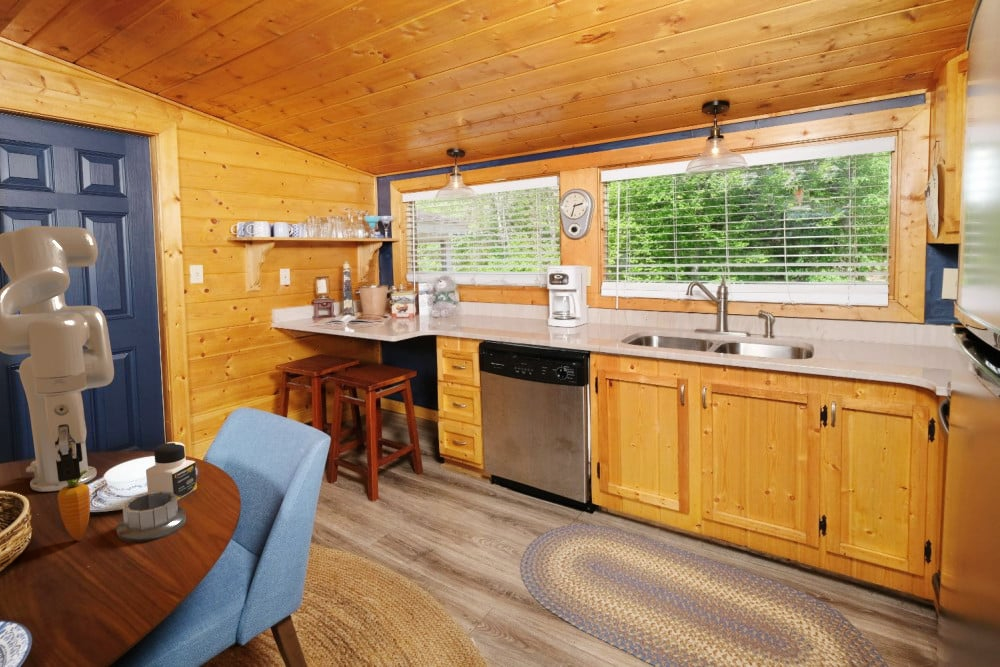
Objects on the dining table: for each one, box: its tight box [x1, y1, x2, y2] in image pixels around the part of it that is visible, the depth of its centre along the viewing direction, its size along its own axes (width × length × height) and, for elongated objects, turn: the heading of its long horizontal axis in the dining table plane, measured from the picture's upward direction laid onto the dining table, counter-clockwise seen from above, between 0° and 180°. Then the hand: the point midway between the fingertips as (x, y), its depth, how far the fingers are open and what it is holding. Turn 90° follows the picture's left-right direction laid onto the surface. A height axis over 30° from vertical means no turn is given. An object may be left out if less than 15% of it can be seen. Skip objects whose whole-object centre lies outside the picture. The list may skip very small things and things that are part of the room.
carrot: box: [57, 470, 91, 542], centre depth 106 cm, size 5×5×15 cm
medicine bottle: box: [145, 441, 198, 501], centre depth 126 cm, size 7×7×12 cm
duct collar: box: [116, 491, 187, 543], centre depth 112 cm, size 12×12×6 cm
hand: (71, 470), depth 104 cm, fingers open, 9 cm apart
